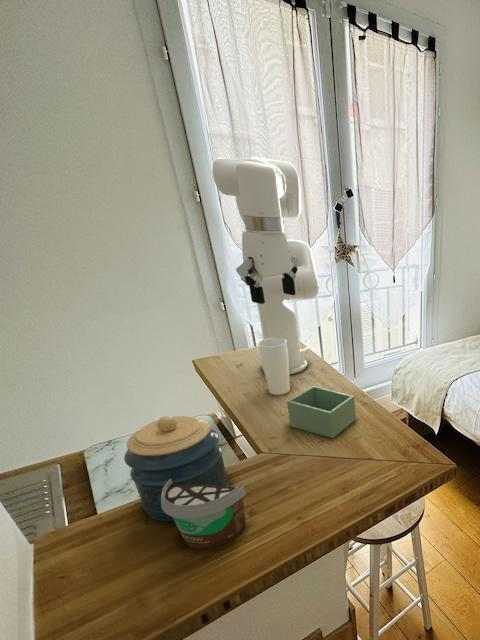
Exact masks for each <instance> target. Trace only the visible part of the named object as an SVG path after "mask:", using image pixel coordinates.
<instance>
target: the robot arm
mask: <svg viewBox="0 0 480 640" xmlns="http://www.w3.org/2000/svg"><path fill="white" fill-rule="evenodd" d="M211 172H212V178H213V181H214V184H215V186H216V188H217V190H218V191H219V192H220V193H221V194H222V195H225V196H230V197H235V202H236V207H237V210H238V213H239V216H240V218H241V220H242V222H243V224H244V228H245V230H242V234H241V250H242V263H241V264H239V266H237V268H235V271H236V273H237V274H238V275H239V277H240V280H241V281H242V282H243V283H245V285H246V286H248V287H249V293H250V298H251V299H250V300H251V302H252V303H256V305H257V309H258V315H259V320H260V327H261V331H262V338H263V339H268V338H281V339H284V340H286V343H287V348H288V357H289V375H294V374H297V373H299V372H302V371H304V370H305V369H306V368H307V367H308V361H307V359H305V358H304V357H305V355H307V354H310V353H311V352H312V349H311V348H310V347H309V346H307V347H305V348H303V349H302V348H301V346H300V339H299V338H300V337H299V329H298V323H297V322H298V321H297V315H296V312H295V310H294V309H293V307H292V306H291V305H290V304H288V302H286V301H288V300H306V299H309V300H310V299H314V298H316V297H317V296H318V294H319V292H320V285H319V278H318V273H317V269H316V268H317V267H316V263H315V259H314V254H313V251H312V249H311V246H310V244H308V243H307V242H306V241H303V240H299V239H288V238H287V234H286V232H285V230H284V218H288V219H292V218H293V219H295V218H297V217H299V216H300V214H301V212H302V199H301V197H302V195H301V181H300V176H299V173H298V171H297V169H296V167H295V165H294V164H292V163H291V162H289V161H286V160H277V159H269V158H260V157H237V158H236V157H231V158H230V157H216V158H215V159H214V161H213V164H212V171H211ZM263 339H262V340H263ZM261 367H262V371H263V372H264V370H263V366H262V365H261Z"/></svg>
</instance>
